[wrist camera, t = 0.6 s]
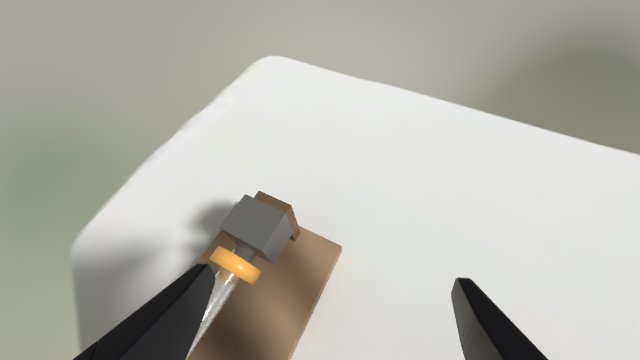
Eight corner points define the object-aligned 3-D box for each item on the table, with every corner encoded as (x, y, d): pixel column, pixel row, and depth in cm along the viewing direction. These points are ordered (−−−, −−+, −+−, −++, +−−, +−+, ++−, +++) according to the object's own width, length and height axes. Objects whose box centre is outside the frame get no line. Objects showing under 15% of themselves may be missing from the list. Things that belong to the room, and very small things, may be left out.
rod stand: (173, 603, 14) (32, 822, 8) (59, 466, 18) (-108, 536, 11) (341, 251, 24) (341, 216, 18) (248, 206, 28) (220, 163, 21)
